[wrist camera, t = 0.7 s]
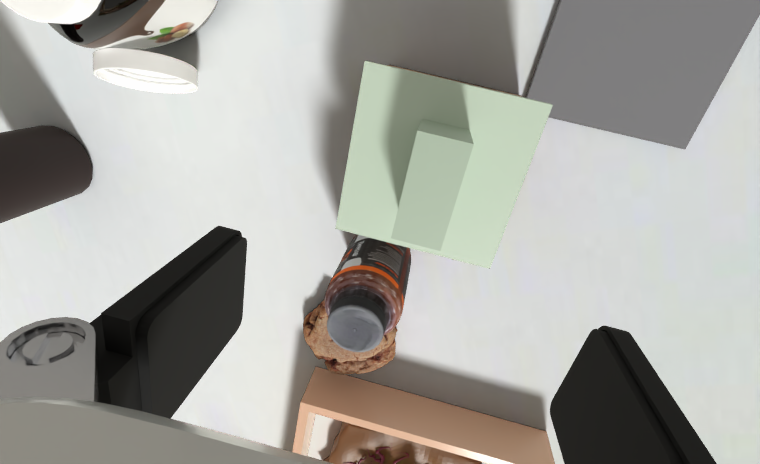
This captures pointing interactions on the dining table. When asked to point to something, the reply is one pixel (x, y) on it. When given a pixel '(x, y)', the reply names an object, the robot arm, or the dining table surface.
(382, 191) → the lid
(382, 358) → the cookie
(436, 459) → the plant
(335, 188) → the dining table surface
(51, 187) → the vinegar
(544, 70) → the mat
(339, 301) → the supplement bottle
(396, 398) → the wooden tray
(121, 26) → the spread jar
